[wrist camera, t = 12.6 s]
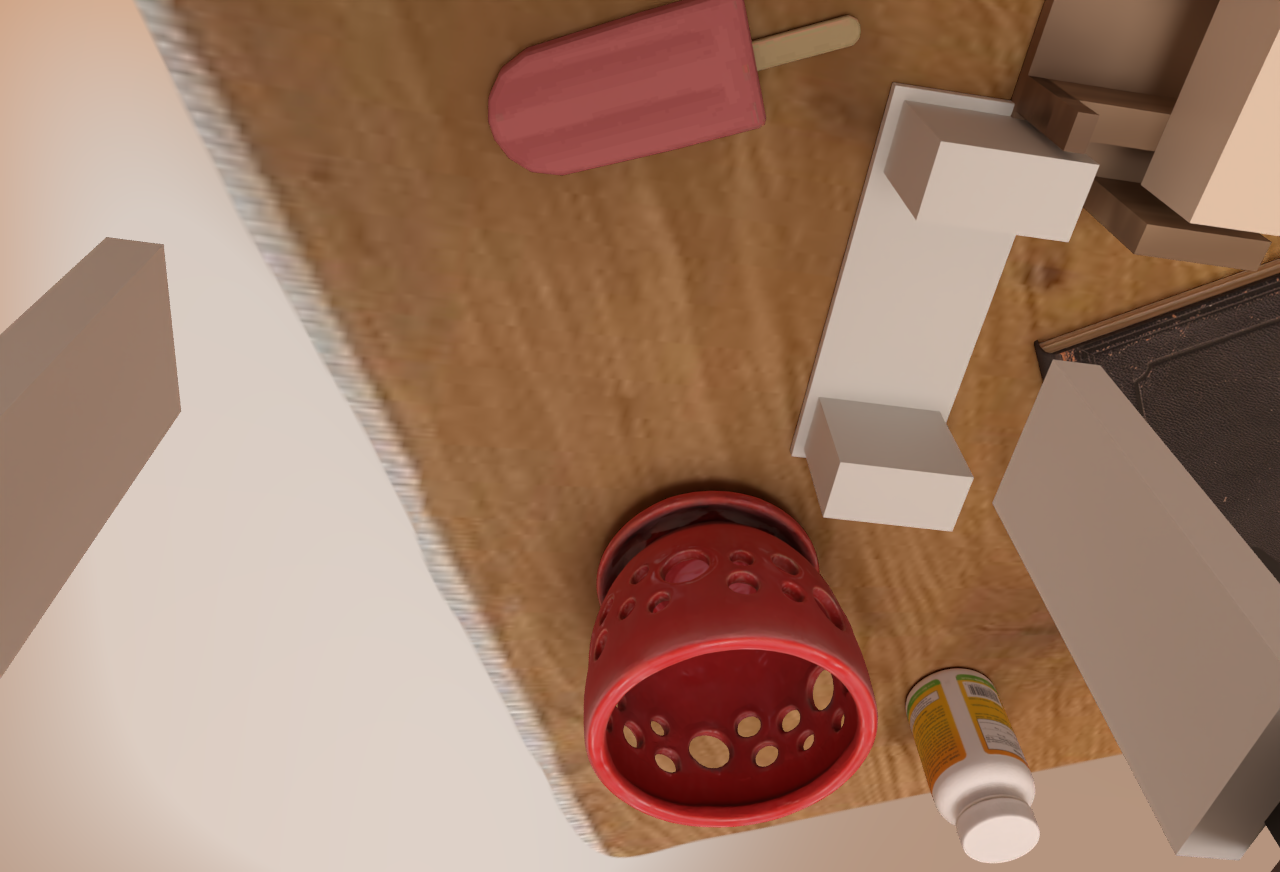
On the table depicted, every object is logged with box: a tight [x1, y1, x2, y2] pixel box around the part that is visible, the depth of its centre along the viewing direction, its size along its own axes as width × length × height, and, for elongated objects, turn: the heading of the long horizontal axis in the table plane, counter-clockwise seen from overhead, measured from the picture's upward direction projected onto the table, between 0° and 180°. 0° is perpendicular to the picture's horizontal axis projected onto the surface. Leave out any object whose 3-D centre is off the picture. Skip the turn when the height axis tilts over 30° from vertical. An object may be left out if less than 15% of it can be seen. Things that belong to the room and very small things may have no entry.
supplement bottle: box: [906, 668, 1040, 863], centre depth 57 cm, size 5×5×10 cm
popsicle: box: [488, 0, 861, 175], centre depth 41 cm, size 5×2×15 cm
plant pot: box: [584, 491, 878, 827], centre depth 50 cm, size 13×13×12 cm
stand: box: [790, 82, 1099, 531], centre depth 44 cm, size 18×7×6 cm, turn 171°
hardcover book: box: [1034, 259, 1280, 563], centre depth 52 cm, size 16×23×2 cm
